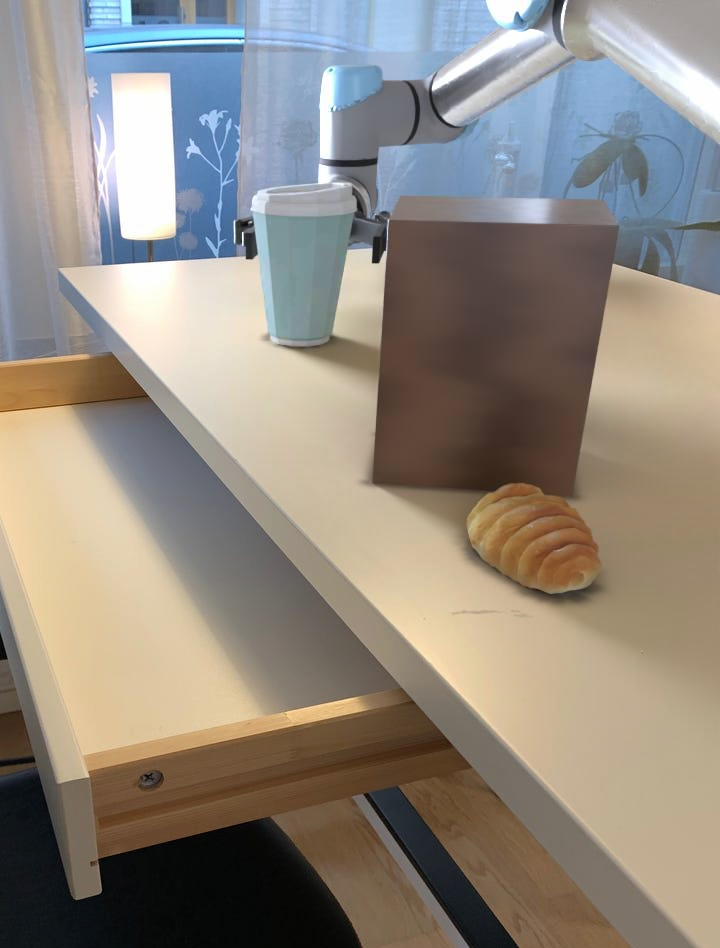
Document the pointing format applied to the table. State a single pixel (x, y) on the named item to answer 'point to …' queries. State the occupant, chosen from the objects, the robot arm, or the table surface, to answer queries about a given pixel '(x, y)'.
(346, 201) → the disposable coffee cup
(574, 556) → the pastry
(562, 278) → the storage box
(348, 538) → the table surface
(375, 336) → the table surface
